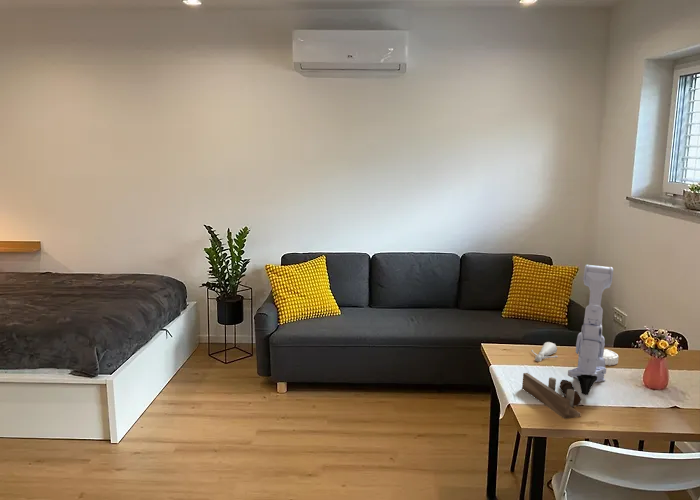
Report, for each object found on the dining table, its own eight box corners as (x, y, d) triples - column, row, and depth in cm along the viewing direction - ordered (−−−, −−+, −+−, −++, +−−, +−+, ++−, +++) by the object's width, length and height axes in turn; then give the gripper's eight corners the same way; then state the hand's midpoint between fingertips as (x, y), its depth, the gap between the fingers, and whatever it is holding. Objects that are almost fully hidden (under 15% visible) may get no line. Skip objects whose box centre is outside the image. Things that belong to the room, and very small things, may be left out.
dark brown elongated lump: (565, 393, 220) (574, 410, 205) (553, 385, 220) (561, 401, 205) (575, 380, 218) (584, 396, 204) (563, 373, 219) (571, 388, 204)
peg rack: (541, 386, 220) (543, 370, 219) (585, 415, 198) (587, 398, 196) (521, 388, 217) (523, 373, 216) (564, 418, 195) (566, 401, 194)
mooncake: (584, 361, 246) (585, 353, 246) (589, 353, 257) (589, 345, 256) (616, 368, 240) (617, 359, 240) (619, 358, 251) (620, 350, 250)
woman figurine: (566, 343, 254) (551, 358, 240) (565, 353, 255) (550, 368, 241) (539, 337, 261) (523, 351, 247) (538, 347, 262) (522, 361, 248)
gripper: (578, 363, 203) (574, 400, 206) (614, 359, 207) (609, 396, 210) (565, 356, 209) (561, 392, 212) (600, 352, 214) (595, 388, 216)
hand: (584, 393), depth 211 cm, fingers closed
